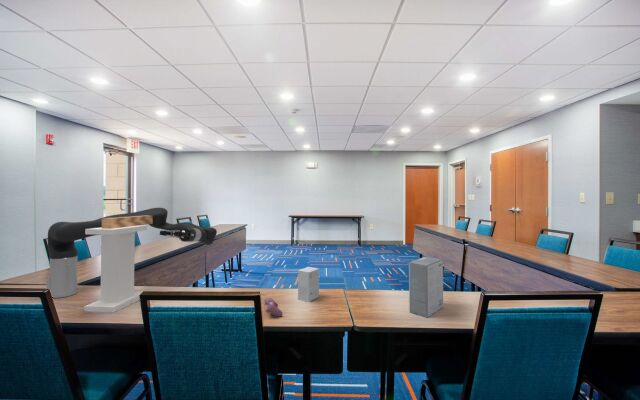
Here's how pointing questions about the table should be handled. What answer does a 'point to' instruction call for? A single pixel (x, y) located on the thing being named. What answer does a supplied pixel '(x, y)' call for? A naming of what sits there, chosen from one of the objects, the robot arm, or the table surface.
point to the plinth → (116, 268)
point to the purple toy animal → (272, 307)
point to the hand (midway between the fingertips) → (167, 233)
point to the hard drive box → (425, 286)
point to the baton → (126, 221)
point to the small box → (308, 284)
